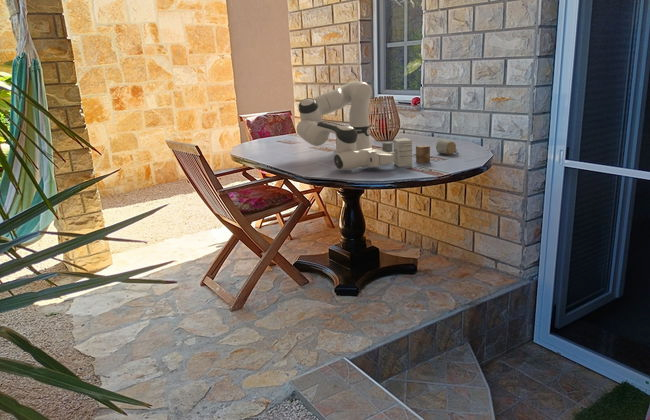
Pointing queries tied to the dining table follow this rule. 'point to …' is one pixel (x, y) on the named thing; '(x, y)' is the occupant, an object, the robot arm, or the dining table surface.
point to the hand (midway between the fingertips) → (394, 154)
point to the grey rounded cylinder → (387, 146)
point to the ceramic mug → (446, 147)
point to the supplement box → (403, 152)
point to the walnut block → (423, 154)
